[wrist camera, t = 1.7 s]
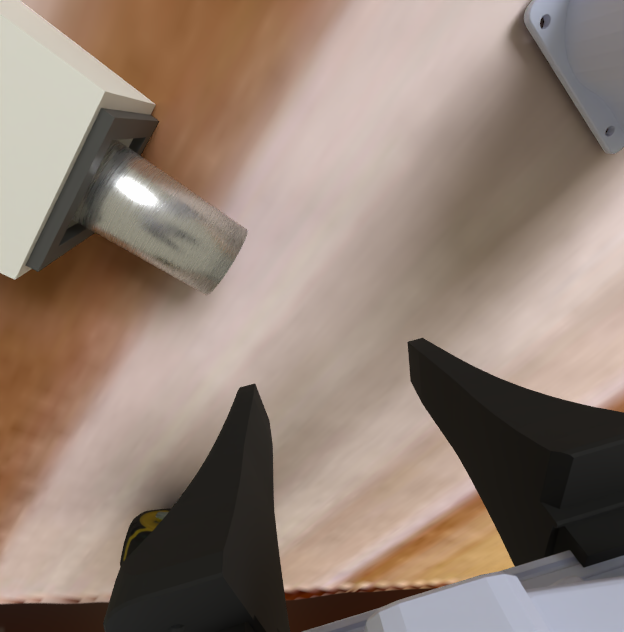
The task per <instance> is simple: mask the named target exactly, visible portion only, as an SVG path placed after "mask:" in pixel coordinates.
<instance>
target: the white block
mask: <svg viewBox="0 0 624 632" xmlns="http://www.w3.org/2000/svg"><path fill="white" fill-rule="evenodd" d="M155 105H156V104H155V103H153V102H152V101H151V100H149V99H148V98H147V97H145V96H144V95H143V94H141V93H140V92H139V91H138V90H136V89H135V88H134V87H132V86H131V85H130V84H128V83H127V82H126V81H125V80H123V79H122V78H121V77H119V76H118V75H117V74H115V73H114V72H113V71H112V70H110V69H109V68H108V67H106V66H105V65H104V64H102V63H101V62H100V61H99V60H97V59H96V58H95V57H93V56H92V55H91V54H89V53H88V52H87V51H85V50H84V49H83V48H82V47H80V46H79V45H78V44H76V43H75V42H74V41H72V40H71V39H70V38H69V37H67V36H66V35H65V34H63V33H62V32H61V31H59V30H58V29H57V28H56V27H54V26H53V25H52V24H50V23H49V22H48V21H46V20H45V19H44V18H43V17H41V16H40V15H39V14H37V13H36V12H35V11H33V10H32V9H31V8H30V7H28V6H27V5H26V4H24V3H23V2H22V1H20V0H0V273H1V274H4V275H6V276H8V277H10V278H12V279H14V280H16V279H17V278H19V277H20V276H22V275H23V274H25V273H26V272H28V271H29V270H31V269H34V270H36V271H40V270H41V269H43V268H44V267H46V266H47V265H49V264H50V263H51V262H53V261H54V260H56V259H57V258H59V257H60V256H62V255H63V254H65V253H66V252H67V251H69V250H70V249H72V248H73V247H75V246H76V245H78V244H79V243H81V242H82V241H84V240H85V239H86V238H88V237H89V236H91V235H92V234H94V233H95V232H94V231H92V230H90V229H88V228H86V227H85V226H83V225H81V224H79V223H78V222H76V221H74V220H72V218H73V216H74V214H75V212H76V210H77V208H78V206H79V204H80V202H81V201H82V199H83V197H84V195H85V193H86V191H87V189H88V187H89V185H90V183H91V181H92V179H93V177H94V175H95V173H96V171H97V169H98V167H99V165H100V163H101V161H102V159H103V157H104V155H105V153H106V151H107V149H108V147H109V145H110V143H111V141H112V140H118V141H120V142H121V143H122V144H124V145H125V146H127V147H128V148H130V149H131V150H133V151H134V152H135V153H137V154H138V155H141V154H142V152H143V150H144V148H145V146H146V144H147V143H148V141H149V139H150V137H151V135H152V133H153V131H154V130H155V128H156V126H157V124H158V122H159V121H158V120H157V119H155V118H154V117H153V116H151V113H152V111H153V109H154V107H155Z"/></svg>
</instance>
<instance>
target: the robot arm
mask: <svg viewBox="0 0 624 632" xmlns="http://www.w3.org/2000/svg"><path fill="white" fill-rule="evenodd" d="M542 17H543V18H544V26H543V27H542V28H541V27H540V20H541V18H542ZM524 23H525V25H526V27H527V29H528V30H529V32H530V33H531V35H532V37H533V38H534V40H535V41H536V43H537V45H538V46H539V48H540V50H541V51H542V53H543V54H544V56H545V58H546V59H547V61H548V62H549V64H550V66H551V67H552V69H553V70H554V72H555V74H556V75H557V77H558V78H559V80H560V82H561V83H562V85H563V86H564V88H565V90H566V91H567V93H568V94H569V96H570V98H571V99H572V101H573V102H574V104H575V106H576V107H577V109H578V110H579V112H580V114H581V115H582V117H583V118H584V120H585V122H586V123H587V125H588V126H589V128H590V130H591V131H592V133H593V134H594V136H595V138H596V139H597V141H598V142H599V144H600V146H601V147H602V149H603V151H604V152H605V153H609V154H615V153H617V152H619V151H620V150H621V149H622V148H623V147H624V0H532V1H531V2H530V4H529V5H528V7H527V8H526V10H525V13H524ZM607 128H608V131H607V133H606V134H605V132H606V130H607ZM408 352H409V365H410V377H411V382H412V384H413V386H414V388H415V390H416V392H417V394H418V396H419V398H420V400H421V402H422V404H423V405H424V407H425V408H426V410H427V411H428V413H429V414H430V415H431V417H432V418H433V420H434V421H435V423H436V424H437V426H438V427H439V429H440V430H441V431H442V433H443V434H444V436H445V437H446V439H447V440H448V442H449V443H450V445H451V446H452V447H453V449H454V451H455V452H456V454H457V455H458V457H459V458H460V460H461V462H462V464H463V466H464V467H465V469H466V471H467V473H468V475H469V477H470V478H471V480H472V482H473V484H474V486H475V488H476V490H477V491H478V493H479V495H480V497H481V499H482V501H483V503H484V505H485V507H486V509H487V511H488V513H489V515H490V517H491V519H492V521H493V523H494V524H495V526H496V528H497V530H498V532H499V534H500V536H501V539H502V541H503V543H504V545H505V547H506V549H507V551H508V553H509V555H510V557H511V560H512V562H513V564H514V566H515V567H512V568H509V569H506V570H502V571H499V572H494V573H489V574H483V575H479V576H476V577H473V578H470V579H466V580H463V581H460V582H456V583H453V584H450V585H447V586H443V587H440V588H437V589H434V590H430V591H427V592H424V593H421V594H417V595H414V596H411V597H408V598H405V599H401V600H398V601H395V602H393V603H391V604H388V605H386V606H384V607H382V608H378V609H375V610H372V611H368V612H365V613H362V614H359V615H355V616H352V617H349V618H345V619H342V620H339V621H336V622H333V623H329V624H326V625H323V626H319V627H316V628H313V629H310V630H306V631H303V632H624V413H623V412H618V411H612V410H607V409H602V408H596V407H591V406H587V405H583V404H578V403H574V402H570V401H566V400H562V399H559V398H555V397H552V396H548V395H545V394H542V393H539V392H535V391H532V390H529V389H526V388H523V387H521V386H518V385H515V384H513V383H510V382H508V381H505V380H502V379H500V378H498V377H495V376H493V375H491V374H489V373H487V372H484V371H482V370H480V369H478V368H476V367H474V366H472V365H470V364H468V363H466V362H464V361H462V360H461V359H459V358H457V357H455V356H453V355H451V354H450V353H448V352H446V351H444V350H443V349H441V348H439V347H437V346H436V345H434V344H432V343H431V342H429V341H427V340H425V339H424V338H420V339H416V340H413V341H409V342H408ZM103 624H104V630H105V631H106V632H290V628H289V621H288V615H287V608H286V601H285V594H284V587H283V579H282V572H281V565H280V557H279V549H278V541H277V532H276V523H275V514H274V495H273V444H272V437H271V429H270V423H269V419H268V416H267V413H266V411H265V408H264V405H263V403H262V400H261V398H260V395H259V392H258V390H257V387H256V385H255V384H251V385H248V386H244V387H240V388H239V390H238V392H237V394H236V397H235V400H234V402H233V405H232V407H231V410H230V412H229V414H228V417H227V419H226V421H225V423H224V425H223V428H222V430H221V432H220V434H219V436H218V438H217V440H216V442H215V444H214V445H213V447H212V449H211V451H210V453H209V455H208V456H207V458H206V460H205V462H204V463H203V465H202V467H201V468H200V470H199V471H198V473H197V474H196V476H195V477H194V479H193V480H192V482H191V483H190V485H189V486H188V488H187V489H186V490H185V492H184V493H183V494H182V496H181V497H180V499H179V500H178V501H177V503H176V504H175V505H174V506H173V507H172V509H171V510H170V511H169V512H168V514H167V515H166V516H165V517H164V518H163V519H162V521H161V522H160V523H159V524H158V525H157V526H156V528H155V529H154V530H153V531H152V532H151V533H150V534H149V535H148V536H147V537H146V538H145V539H144V540H143V542H142V543H141V544H140V545H139V546H138V547H137V548H136V549H135V550H134V551H133V552H132V553H131V554H130V555H129V556H128V557H127V558H126V559H125V560H124V561H123V562H122V565H121V568H120V570H119V573H118V576H117V578H116V581H115V585H114V588H113V591H112V595H111V598H110V602H109V605H108V609H107V612H106V616H105V619H104V623H103Z"/></svg>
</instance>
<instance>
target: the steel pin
mask: <svg viewBox="0 0 624 632" xmlns="http://www.w3.org/2000/svg"><path fill="white" fill-rule="evenodd" d="M72 220H74V221H76V222H78V223H79V224H81V225H83V226H85V227H86V228H88V229H90V230H92V231H94V232H95V233H97V234H99V235H101V236H102V237H104V238H106V239H108V240H109V241H111V242H113V243H115V244H116V245H118V246H120V247H122V248H124V249H125V250H127V251H129V252H131V253H132V254H134V255H136V256H138V257H139V258H141V259H143V260H145V261H146V262H148V263H150V264H152V265H154V266H155V267H157V268H159V269H161V270H162V271H164V272H166V273H168V274H169V275H171V276H173V277H175V278H177V279H178V280H180V281H182V282H184V283H185V284H187V285H189V286H191V287H192V288H194V289H196V290H198V291H199V292H201V293H203V294H205V295H208V294H210V293H211V292H212V291H213V290H214V289H215V287H216V286H217V285H218V284H219V282H220V281H221V280H222V278H223V277H224V275H225V274H226V273H227V271H228V269H229V268H230V266H231V265H232V263H233V262H234V260H235V258H236V256H237V255H238V253H239V251H240V249H241V247H242V245H243V243H244V241H245V239H246V236H247V232H248V230H247V229H245V228H244V227H243V226H241V225H240V224H238V223H237V222H235V221H234V220H232V219H231V218H230V217H228V216H227V215H225V214H224V213H222V212H221V211H219V210H218V209H217V208H215V207H214V206H212V205H211V204H209V203H208V202H206V201H205V200H204V199H202V198H201V197H199V196H198V195H196V194H195V193H193V192H192V191H190V190H189V189H188V188H186V187H185V186H183V185H182V184H180V183H179V182H177V181H176V180H175V179H173V178H172V177H170V176H169V175H167V174H166V173H164V172H163V171H162V170H160V169H159V168H157V167H156V166H154V165H153V164H151V163H150V162H148V161H147V160H146V159H144V158H143V157H141V156H140V155H138V154H137V153H135V152H134V151H133V150H131V149H130V148H128V147H127V146H125V145H124V144H122V143H121V142H120V141H118V140H112V141H111V143H110V145H109V147H108V149H107V151H106V153H105V155H104V157H103V159H102V161H101V163H100V165H99V167H98V169H97V171H96V173H95V175H94V177H93V179H92V181H91V183H90V185H89V187H88V189H87V191H86V193H85V195H84V197H83V199H82V201H81V202H80V204H79V206H78V208H77V210H76V212H75V214H74V216H73V218H72Z"/></svg>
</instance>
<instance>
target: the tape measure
mask: <svg viewBox="0 0 624 632" xmlns="http://www.w3.org/2000/svg"><path fill="white" fill-rule="evenodd" d="M170 510H171V509H160V510H151V511H146V512H143V513H141V514H140V515H138V516H137V517H136V518H135V519H134V520H133V521H132V522H131V524H130V527H129V529H128V532H127V535H126V539H125V542H124V546H123V551H122V556H121V562H120V566H121V565H122V562H123V561H124V560H125V559H126V558H127V557H128V556H129V555H130V554H131V553H132V552H133V551H134V550H135V549H136V548H137V547H138V546H139V545H140V544H141V543H142V542H143V540H144V539H145V538H146V537H147V536H148V535H149V534H150V533H151V532H152V531H153V530H154V529H155V528H156V526H157V525H158V524H159V523H160V522H161V521H162V519H163V518H164V517H165V516H166V515H167V514H168V512H169V511H170ZM120 568H121V567H120Z"/></svg>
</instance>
